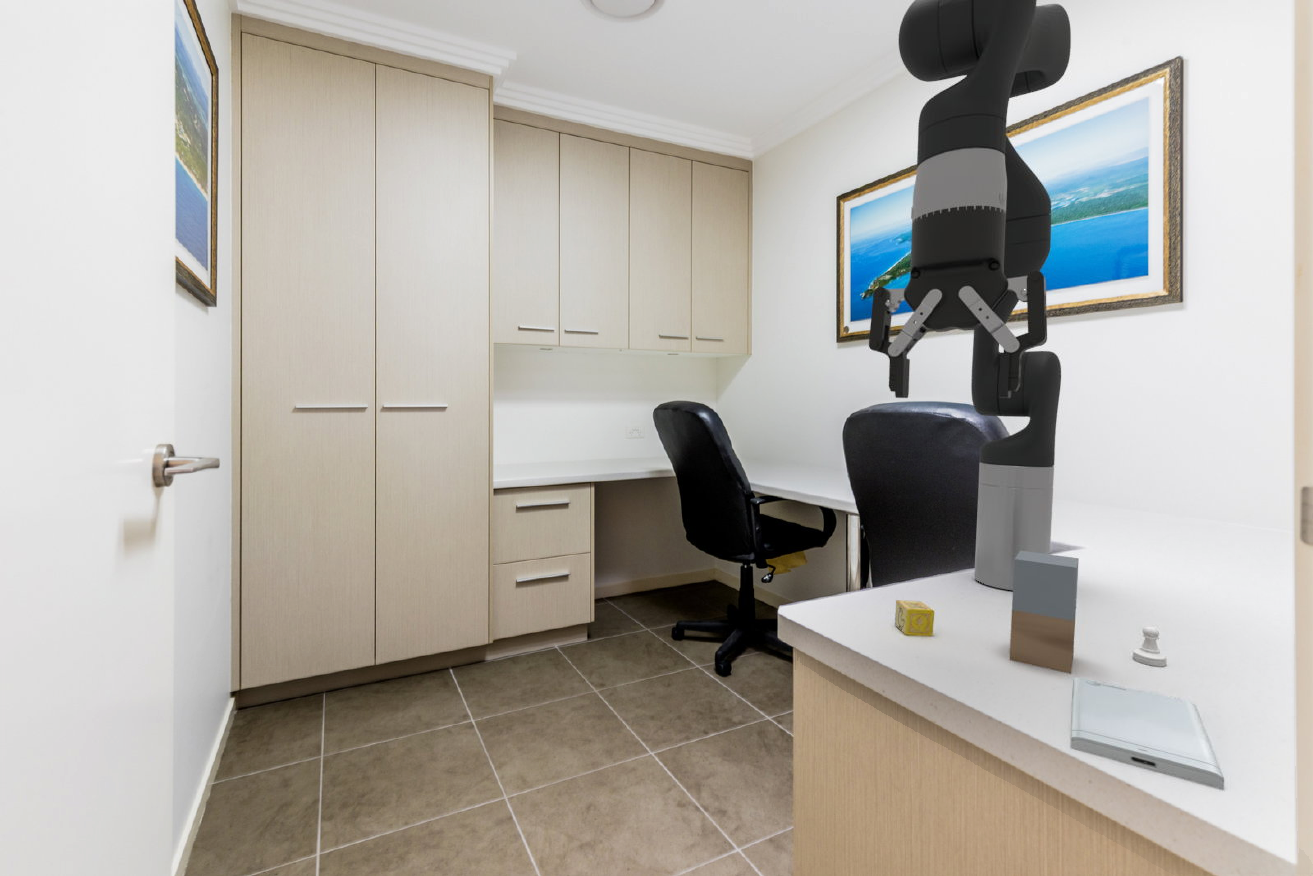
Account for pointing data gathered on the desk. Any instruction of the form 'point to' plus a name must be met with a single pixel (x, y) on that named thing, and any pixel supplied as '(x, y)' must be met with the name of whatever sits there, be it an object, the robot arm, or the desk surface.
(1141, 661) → the chess pawn
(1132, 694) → the hard drive
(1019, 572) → the tower top
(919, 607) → the alphabet block
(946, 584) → the desk surface
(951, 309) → the robot arm
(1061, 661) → the block
